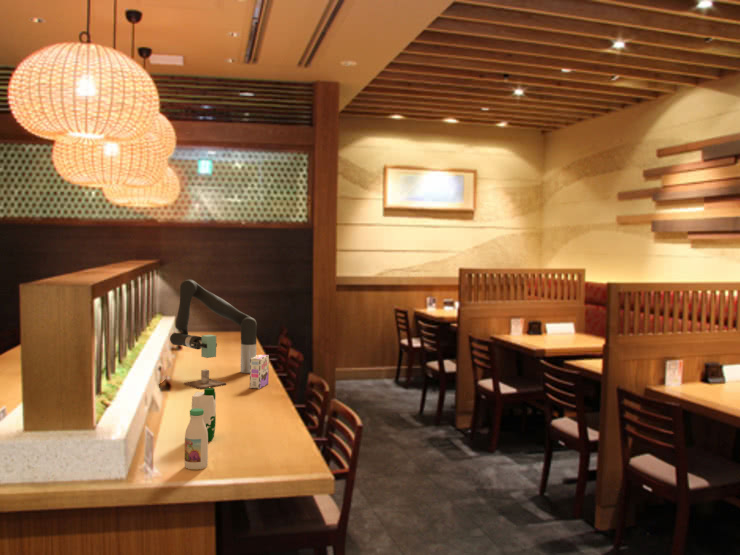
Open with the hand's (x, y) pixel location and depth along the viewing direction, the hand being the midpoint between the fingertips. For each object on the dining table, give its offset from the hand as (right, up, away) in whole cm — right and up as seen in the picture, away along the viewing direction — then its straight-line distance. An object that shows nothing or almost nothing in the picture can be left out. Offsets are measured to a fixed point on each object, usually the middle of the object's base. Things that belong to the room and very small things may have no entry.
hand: (211, 345), depth 356 cm
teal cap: (-2, -6, +2) cm, 7 cm away
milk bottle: (+29, -27, -137) cm, 143 cm away
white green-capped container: (+23, -26, -106) cm, 112 cm away
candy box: (+29, -21, -10) cm, 37 cm away
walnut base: (-1, -20, -9) cm, 22 cm away
